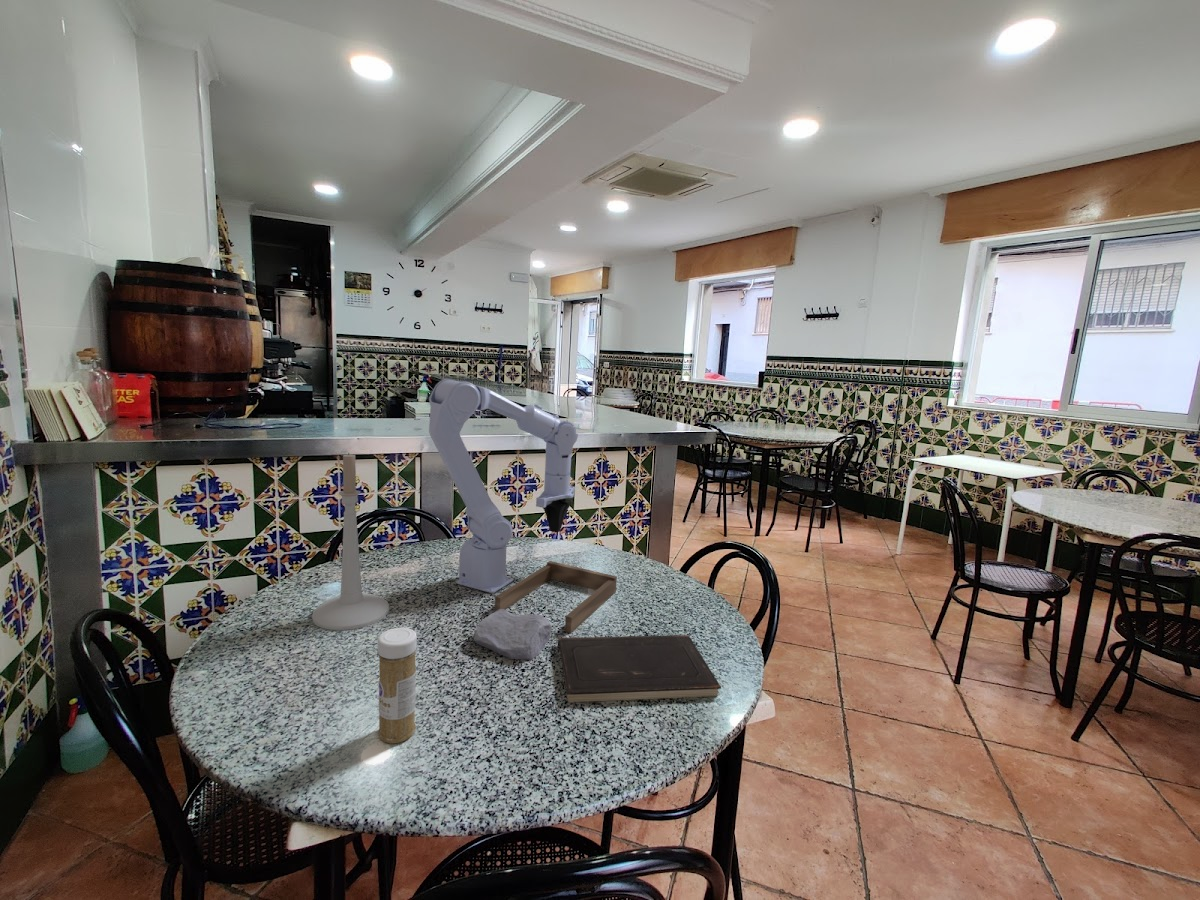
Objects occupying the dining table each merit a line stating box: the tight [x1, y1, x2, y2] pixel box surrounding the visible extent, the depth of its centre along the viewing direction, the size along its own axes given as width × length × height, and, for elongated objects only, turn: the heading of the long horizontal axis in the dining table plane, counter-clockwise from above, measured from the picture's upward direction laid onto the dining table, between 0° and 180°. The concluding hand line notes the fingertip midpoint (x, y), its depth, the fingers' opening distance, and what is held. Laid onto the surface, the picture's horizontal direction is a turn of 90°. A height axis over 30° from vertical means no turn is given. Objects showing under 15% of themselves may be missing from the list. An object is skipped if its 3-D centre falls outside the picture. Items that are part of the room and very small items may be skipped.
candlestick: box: [311, 452, 390, 631], centre depth 97 cm, size 13×13×30 cm
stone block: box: [473, 609, 552, 661], centre depth 93 cm, size 12×5×10 cm
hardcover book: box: [557, 634, 722, 703], centre depth 87 cm, size 16×23×2 cm
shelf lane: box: [494, 560, 618, 634], centre depth 109 cm, size 16×21×4 cm
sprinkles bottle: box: [377, 627, 418, 744], centre depth 68 cm, size 5×5×13 cm
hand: (554, 531), depth 124 cm, fingers closed
